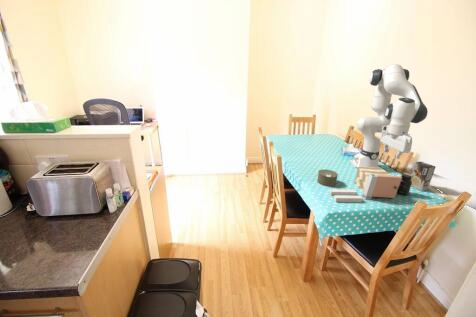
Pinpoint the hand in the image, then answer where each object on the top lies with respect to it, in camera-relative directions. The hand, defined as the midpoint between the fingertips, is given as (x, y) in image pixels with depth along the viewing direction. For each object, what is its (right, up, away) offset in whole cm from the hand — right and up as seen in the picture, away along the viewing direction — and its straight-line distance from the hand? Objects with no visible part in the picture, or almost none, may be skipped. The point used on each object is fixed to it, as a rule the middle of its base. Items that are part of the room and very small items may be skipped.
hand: (391, 155), depth 124 cm
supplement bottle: (+17, -23, +15) cm, 33 cm away
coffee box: (+33, -21, +23) cm, 45 cm away
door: (-1, -24, +9) cm, 26 cm away
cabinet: (-1, -22, +17) cm, 28 cm away
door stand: (-21, -25, +9) cm, 34 cm away
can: (-25, -18, +27) cm, 41 cm away
